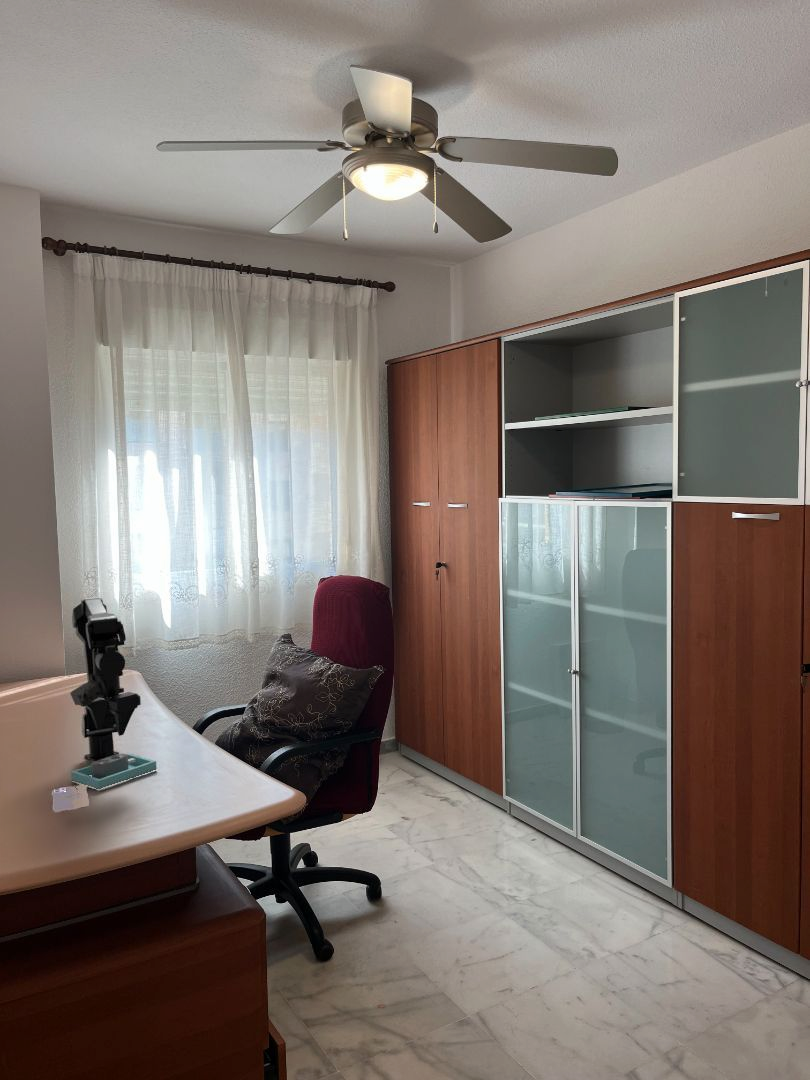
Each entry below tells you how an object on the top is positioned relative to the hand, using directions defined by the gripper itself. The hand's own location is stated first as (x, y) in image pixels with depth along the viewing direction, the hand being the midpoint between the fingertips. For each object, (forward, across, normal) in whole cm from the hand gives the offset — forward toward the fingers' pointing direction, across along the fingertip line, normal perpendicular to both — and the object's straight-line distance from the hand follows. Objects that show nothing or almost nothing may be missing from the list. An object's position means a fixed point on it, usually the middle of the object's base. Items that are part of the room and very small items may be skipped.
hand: (110, 732), depth 190 cm
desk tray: (+11, 0, 0) cm, 11 cm away
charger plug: (+10, 0, -1) cm, 11 cm away
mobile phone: (+12, +4, -13) cm, 18 cm away
